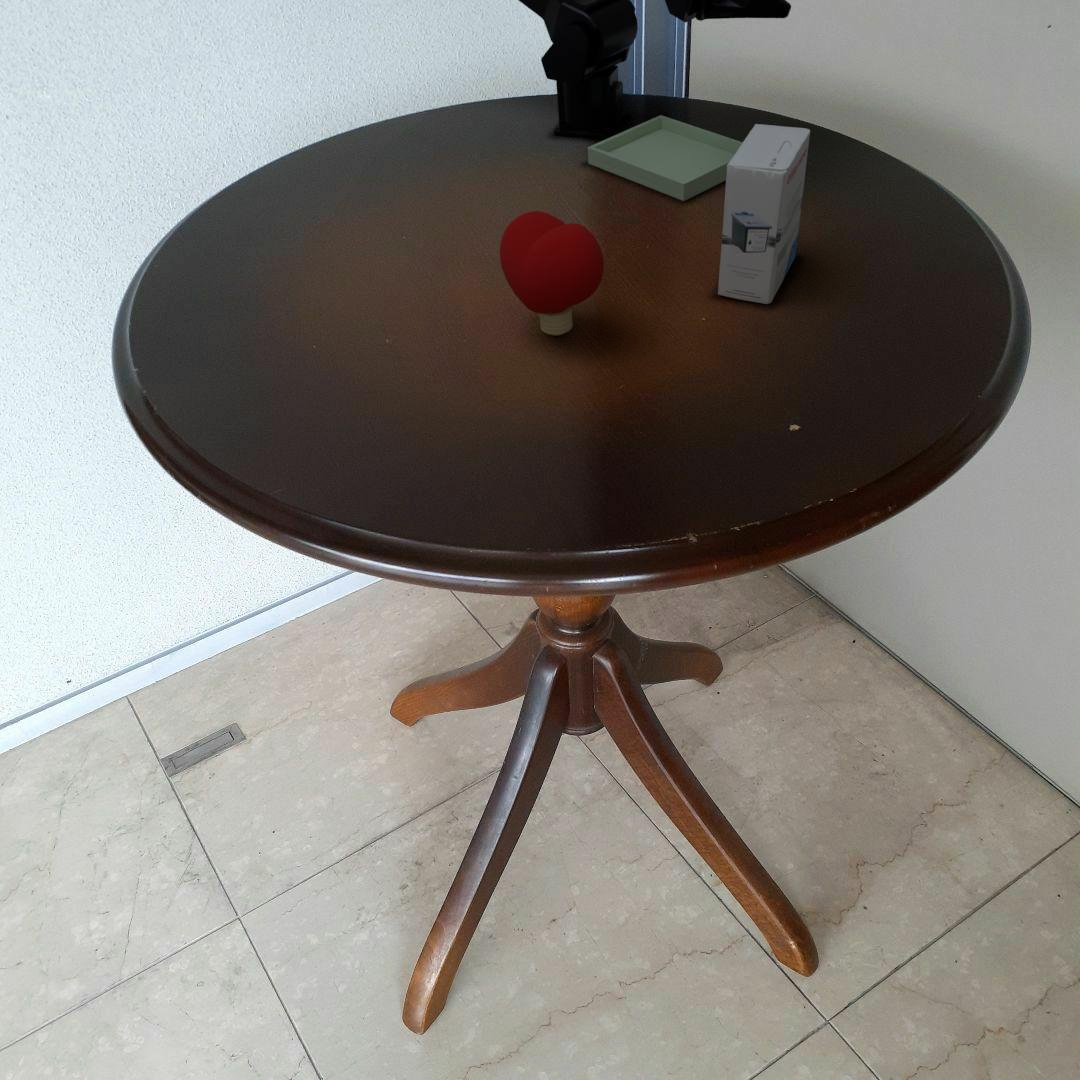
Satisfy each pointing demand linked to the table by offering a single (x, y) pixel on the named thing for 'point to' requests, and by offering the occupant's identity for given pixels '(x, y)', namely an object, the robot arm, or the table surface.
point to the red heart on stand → (550, 267)
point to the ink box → (762, 212)
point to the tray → (667, 156)
